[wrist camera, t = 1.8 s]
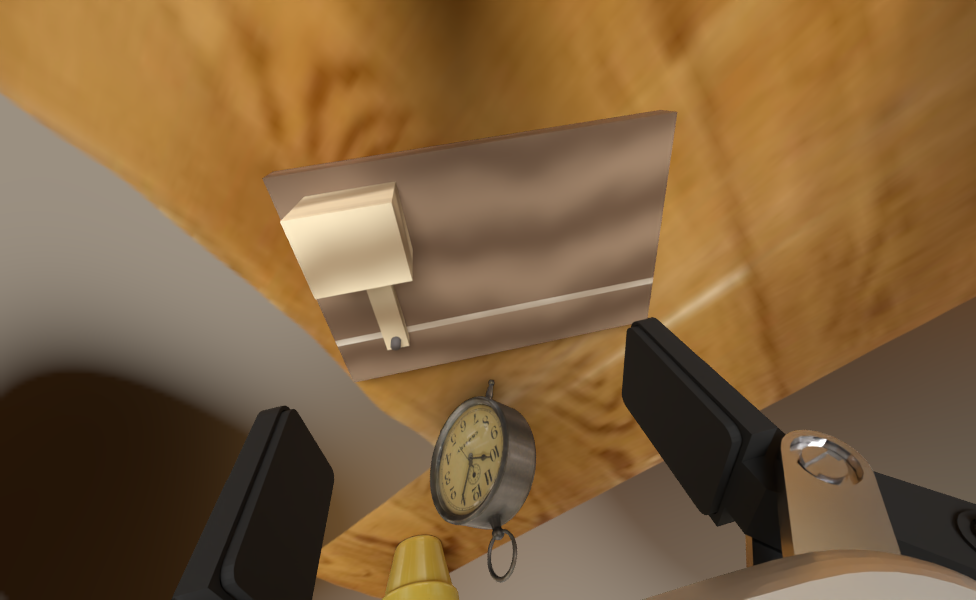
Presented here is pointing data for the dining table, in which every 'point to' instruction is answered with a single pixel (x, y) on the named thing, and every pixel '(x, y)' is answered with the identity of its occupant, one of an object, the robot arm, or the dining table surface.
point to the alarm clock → (483, 468)
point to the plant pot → (420, 571)
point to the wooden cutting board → (506, 238)
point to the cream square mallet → (356, 249)
